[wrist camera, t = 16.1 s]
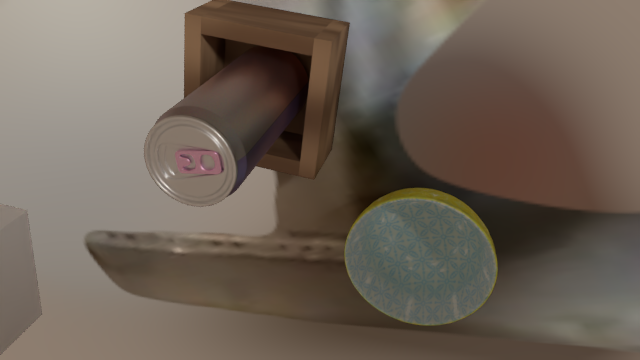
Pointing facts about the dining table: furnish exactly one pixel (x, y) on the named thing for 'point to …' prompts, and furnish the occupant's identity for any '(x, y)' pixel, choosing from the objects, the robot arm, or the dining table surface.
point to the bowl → (421, 257)
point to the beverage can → (225, 126)
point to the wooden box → (285, 34)
